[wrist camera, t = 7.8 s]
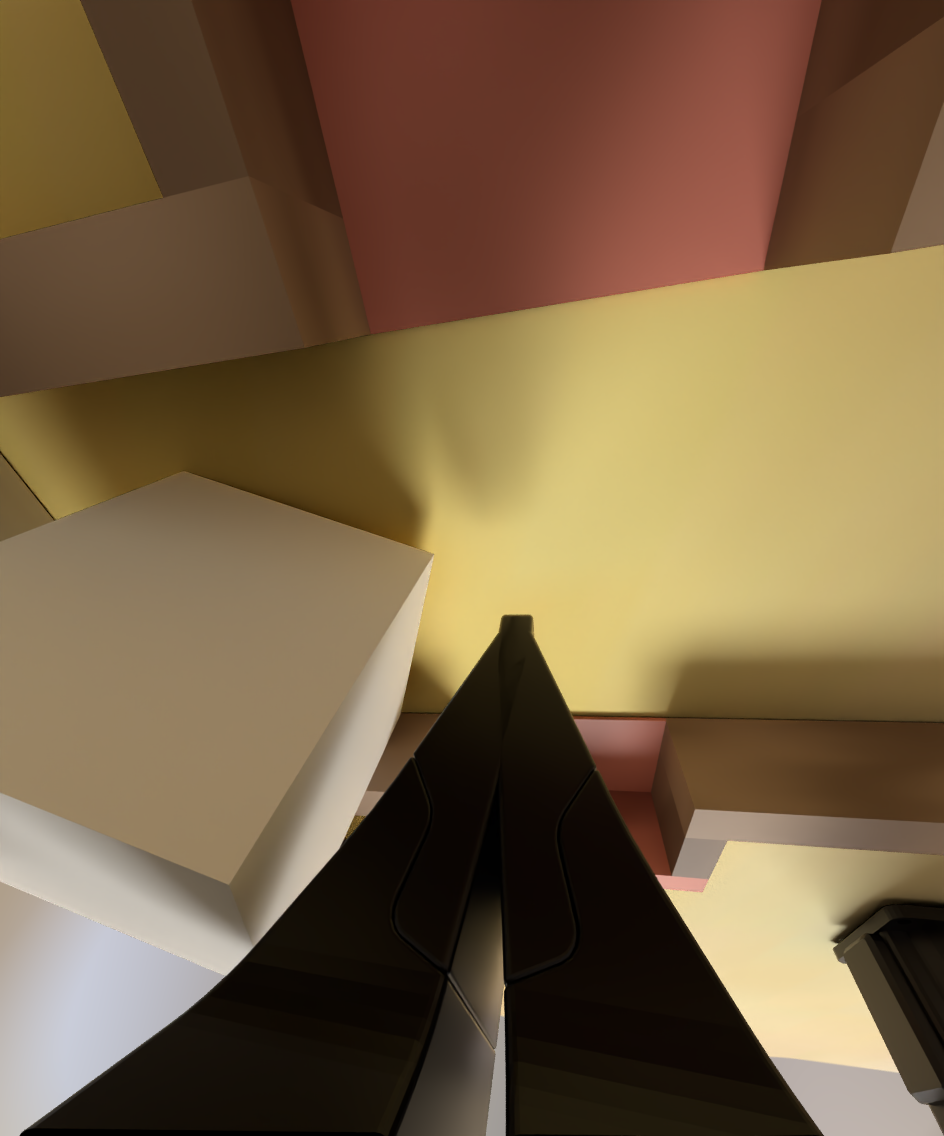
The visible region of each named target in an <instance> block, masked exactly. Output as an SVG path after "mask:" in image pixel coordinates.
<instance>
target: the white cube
mask: <svg viewBox="0 0 944 1136" xmlns="http://www.w3.org/2000/svg"><path fill="white" fill-rule="evenodd" d="M433 558H434V554H432V553H429V552H426V551H423V550H420V549H417V548H414V547H411V546H408V545H405V544H402V543H399V542H396V541H393V540H390V539H387V538H384V537H381V536H378V535H375V534H372V533H369V532H366V531H363V530H360V529H357V528H354V527H351V526H348V525H345V524H342V523H339V522H336V521H333V520H330V519H327V518H324V517H321V516H318V515H315V514H312V513H309V512H306V511H303V510H300V509H297V508H294V507H291V506H288V505H285V504H282V503H279V502H276V501H273V500H270V499H267V498H264V497H261V496H258V495H255V494H252V493H249V492H246V491H243V490H240V489H237V488H234V487H231V486H228V485H225V484H222V483H219V482H216V481H213V480H210V479H207V478H204V477H201V476H198V475H195V474H192V473H189V472H186V471H182V472H179V473H177V474H174V475H172V476H169V477H167V478H164V479H161V480H159V481H156V482H154V483H151V484H148V485H146V486H143V487H141V488H138V489H135V490H133V491H130V492H128V493H125V494H122V495H120V496H117V497H115V498H112V499H110V500H107V501H104V502H102V503H99V504H97V505H94V506H91V507H89V508H86V509H84V510H81V511H78V512H76V513H73V514H71V515H68V516H65V517H63V518H60V519H58V520H55V521H53V522H50V523H47V524H45V525H42V526H40V527H37V528H34V529H32V530H29V531H27V532H24V533H21V534H19V535H16V536H14V537H11V538H9V539H6V540H3V541H1V542H0V882H3V883H5V884H7V885H10V886H12V887H15V888H17V889H19V890H22V891H24V892H26V893H29V894H31V895H34V896H36V897H38V898H41V899H43V900H45V901H48V902H50V903H53V904H55V905H57V906H60V907H62V908H65V909H67V910H70V911H72V912H74V913H77V914H79V915H81V916H84V917H86V918H89V919H91V920H93V921H96V922H98V923H100V924H103V925H105V926H108V927H110V928H112V929H115V930H117V931H119V932H122V933H124V934H127V935H129V936H131V937H134V938H136V939H139V940H141V941H143V942H146V943H148V944H150V945H153V946H155V947H158V948H160V949H162V950H165V951H167V952H170V953H172V954H174V955H177V956H179V957H181V958H184V959H186V960H189V961H191V962H194V963H196V964H198V965H200V966H203V967H205V968H208V969H210V970H213V971H215V972H217V973H220V974H222V975H224V976H227V974H228V973H229V972H230V971H231V970H232V969H233V968H234V967H235V966H236V965H237V964H238V963H239V962H240V961H241V960H242V959H243V958H244V957H245V956H246V955H247V954H248V953H249V952H250V951H251V949H252V948H253V947H254V946H255V945H256V944H257V943H258V942H259V940H260V939H261V938H262V937H263V936H264V935H265V934H266V932H267V931H268V930H269V929H270V928H271V927H272V925H273V924H274V923H275V922H276V921H277V920H278V919H279V917H280V916H281V915H282V914H283V913H284V912H285V911H286V909H287V908H288V907H289V906H290V905H291V904H292V902H293V901H294V900H295V899H296V898H297V897H298V896H299V894H300V893H301V892H302V891H303V890H304V889H305V887H306V886H307V885H308V884H309V883H310V882H311V881H312V879H313V878H314V877H315V876H316V875H317V874H318V872H319V871H320V870H321V869H322V868H323V867H324V866H325V864H326V863H327V862H328V861H329V860H330V859H331V857H332V856H333V855H334V854H335V853H336V852H337V851H338V849H339V848H340V846H341V844H342V842H343V840H344V837H345V835H346V833H347V831H348V829H349V826H350V824H351V822H352V820H353V818H354V815H355V813H356V811H357V809H358V807H359V804H360V802H361V800H362V798H363V796H364V793H365V791H366V789H367V787H368V785H369V783H370V780H371V778H372V776H373V774H374V772H375V769H376V767H377V765H378V763H379V761H380V758H381V756H382V754H383V752H384V750H385V747H386V745H387V743H388V741H389V739H390V736H391V734H392V732H393V730H394V728H395V725H396V723H397V721H398V719H399V717H400V714H401V710H402V705H403V700H404V695H405V691H406V686H407V681H408V676H409V672H410V667H411V662H412V657H413V653H414V648H415V643H416V638H417V634H418V629H419V624H420V619H421V615H422V610H423V605H424V600H425V596H426V591H427V586H428V581H429V577H430V572H431V567H432V562H433Z"/></svg>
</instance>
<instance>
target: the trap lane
mask: <svg viewBox="0 0 944 1136" xmlns="http://www.w3.org/2000/svg"><path fill="white" fill-rule="evenodd" d="M80 1H81V3H82V6H83V8H84V10H85V13H86V15H87V18H88V20H89V22H90V25H91V27H92V29H93V32H94V34H95V37H96V39H97V41H98V44H99V46H100V48H101V51H102V53H103V56H104V58H105V60H106V63H107V65H108V67H109V70H110V72H111V74H112V77H113V79H114V82H115V84H116V86H117V89H118V91H119V93H120V96H121V98H122V101H123V103H124V105H125V108H126V110H127V112H128V115H129V117H130V120H131V122H132V124H133V127H134V129H135V131H136V134H137V136H138V139H139V141H140V143H141V146H142V148H143V150H144V153H145V155H146V157H147V160H148V162H149V165H150V167H151V169H152V172H153V174H154V176H155V179H156V181H157V184H158V186H159V188H160V191H161V193H162V195H163V198H160V199H156V200H152V201H148V202H144V203H141V204H137V205H133V206H129V207H125V208H121V209H117V210H113V211H109V212H105V213H101V214H97V215H93V216H89V217H85V218H81V219H77V220H74V221H70V222H66V223H62V224H58V225H54V226H50V227H46V228H42V229H38V230H34V231H30V232H26V233H22V234H18V235H14V236H10V237H6V238H3V239H0V397H4V396H10V395H16V394H22V393H28V392H34V391H41V390H47V389H53V388H59V387H65V386H72V385H78V384H84V383H90V382H96V381H102V380H109V379H115V378H121V377H127V376H133V375H140V374H146V373H152V372H158V371H164V370H170V369H177V368H183V367H189V366H195V365H201V364H208V363H214V362H220V361H226V360H232V359H238V358H245V357H251V356H257V355H263V354H269V353H276V352H282V351H288V350H294V349H300V348H306V347H311V346H316V345H321V344H326V343H331V342H336V341H341V340H346V339H351V338H355V337H360V336H365V335H370V334H376V333H382V332H388V331H395V330H401V329H407V328H413V327H419V326H425V325H431V324H438V323H444V322H450V321H456V320H462V319H468V318H474V317H480V316H487V315H493V314H499V313H505V312H511V311H517V310H523V309H530V308H536V307H542V306H548V305H554V304H560V303H566V302H572V301H579V300H585V299H591V298H597V297H603V296H609V295H615V294H622V293H628V292H634V291H640V290H646V289H652V288H658V287H664V286H671V285H677V284H683V283H689V282H695V281H701V280H707V279H714V278H720V277H726V276H732V275H738V274H744V273H750V272H756V271H763V270H770V269H777V268H784V267H792V266H799V265H807V264H814V263H821V262H829V261H836V260H843V259H851V258H858V257H865V256H873V255H880V254H887V253H894V252H900V251H906V250H913V249H919V248H925V247H931V246H937V245H943V244H944V0H80ZM53 521H54V520H53V519H52V517H51V516H50V515H49V514H48V512H47V511H46V510H45V509H44V507H43V506H42V505H41V504H40V503H39V501H38V500H37V499H36V498H35V496H34V495H33V494H32V493H31V491H30V490H29V489H28V488H27V486H26V485H25V484H24V483H23V481H22V480H21V479H20V478H19V476H18V475H17V474H16V473H15V471H14V470H13V469H12V468H11V466H10V465H9V464H8V463H7V461H6V460H5V459H4V458H3V456H2V455H1V454H0V542H1V541H3V540H6V539H9V538H11V537H14V536H16V535H19V534H21V533H24V532H27V531H29V530H32V529H34V528H37V527H40V526H42V525H45V524H47V523H50V522H53ZM440 715H441V714H419V713H401V714H400V717H399V719H398V721H397V723H396V725H395V728H394V730H393V732H392V734H391V736H390V739H389V741H388V743H387V745H386V747H385V750H384V752H383V754H382V756H381V758H380V761H379V763H378V765H377V767H376V769H375V772H374V774H373V776H372V778H371V780H370V783H369V785H368V787H367V789H366V791H365V793H364V796H363V798H362V800H361V802H360V804H359V807H358V809H357V811H356V813H355V815H357V816H367V815H368V814H369V812H370V811H371V810H372V809H373V807H374V806H375V805H376V803H377V802H378V801H379V799H380V798H381V797H382V795H383V794H384V793H385V791H386V790H387V789H388V787H389V786H390V785H391V783H392V782H393V781H394V779H395V778H396V776H397V775H398V774H399V772H400V771H401V769H402V768H403V766H404V765H405V764H406V762H407V761H408V759H409V758H410V757H413V758H414V756H413V753H414V751H415V750H416V749H417V747H418V746H419V744H420V743H421V741H422V740H423V739H424V737H425V736H426V734H427V733H428V732H429V730H430V729H431V727H432V726H433V725H434V723H435V722H436V720H437V719H438V717H439V716H440ZM573 719H574V721H575V723H576V725H577V727H578V729H579V731H580V733H581V735H582V737H583V739H584V741H585V743H586V745H587V747H588V749H589V752H590V754H591V756H592V758H593V760H594V762H595V764H596V767H597V768H596V770H598V771H599V772H600V774H601V776H602V778H603V780H604V782H605V784H606V786H607V788H608V790H609V792H610V794H611V796H612V798H613V800H614V802H615V804H616V806H617V808H618V810H619V811H620V813H621V815H622V817H623V819H624V821H625V823H626V825H627V827H628V829H629V831H630V832H631V834H632V836H633V838H634V840H635V841H636V843H637V845H638V847H639V848H640V850H641V852H642V853H643V855H644V857H645V858H646V860H647V862H648V863H649V865H650V867H651V869H652V870H653V872H654V874H655V875H656V877H657V879H658V880H659V882H660V884H661V886H662V887H663V889H671V890H682V891H693V892H703V890H704V888H705V886H706V884H707V882H708V880H709V878H710V876H711V874H712V871H713V869H714V867H715V865H716V863H717V861H718V859H719V857H720V855H721V853H722V851H723V849H724V847H725V845H726V843H727V841H741V842H756V843H770V844H785V845H800V846H815V847H829V848H844V849H859V850H874V851H888V852H903V853H918V854H933V855H944V723H918V722H862V721H807V720H752V719H696V718H641V717H586V716H573ZM414 759H415V758H414Z"/></svg>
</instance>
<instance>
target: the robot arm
mask: <svg viewBox="0 0 944 1136" xmlns="http://www.w3.org/2000/svg"><path fill="white" fill-rule="evenodd" d="M413 756H414V758H415V759H414V758H413V757H410V758H409V759H408V761H407V762H406V764H405V765H404V766H403V768H402V769H401V771H400V772H399V774H398V775H397V776H396V778H395V779H394V781H393V782H392V783H391V785H390V786H389V787H388V789H387V790H386V791H385V793H384V794H383V795H382V797H381V798H380V799H379V801H378V802H377V803H376V805H375V806H374V807H373V809H372V810H371V811H370V812H369V814H368V815H367V816H366V817H365V818H364V820H363V821H362V822H361V823H360V824H359V826H358V827H357V828H356V829H355V830H354V832H353V833H352V834H351V835H350V836H349V838H348V839H347V840H346V841H345V842H344V844H343V845H342V846H341V847H340V848H339V849H338V851H337V852H336V853H335V854H334V855H333V856H332V857H331V859H330V860H329V861H328V862H327V863H326V864H325V866H324V867H323V868H322V869H321V870H320V871H319V872H318V874H317V875H316V876H315V877H314V878H313V879H312V881H311V882H310V883H309V884H308V885H307V886H306V887H305V889H304V890H303V891H302V892H301V893H300V894H299V896H298V897H297V898H296V899H295V900H294V901H293V902H292V904H291V905H290V906H289V907H288V908H287V909H286V911H285V912H284V913H283V914H282V915H281V916H280V917H279V919H278V920H277V921H276V922H275V923H274V924H273V925H272V927H271V928H270V929H269V930H268V931H267V932H266V934H265V935H264V936H263V937H262V938H261V939H260V940H259V942H258V943H257V944H256V945H255V946H254V947H253V948H252V949H251V951H250V952H249V953H248V954H247V955H246V956H245V957H244V958H243V959H242V960H241V961H240V962H239V963H238V964H237V965H236V966H235V967H234V968H233V969H232V970H231V971H230V972H229V973H228V974H227V976H226V977H224V978H223V979H222V980H221V981H220V982H219V983H218V984H217V985H216V986H215V987H214V988H213V989H211V990H210V991H209V992H208V993H207V994H206V995H205V996H204V997H202V998H201V999H200V1000H199V1001H198V1002H196V1003H195V1004H194V1005H193V1006H192V1007H191V1008H189V1009H188V1010H187V1011H186V1012H185V1013H183V1014H182V1015H180V1016H179V1017H178V1018H177V1019H175V1020H174V1021H173V1022H172V1023H170V1024H169V1025H167V1026H166V1027H165V1028H163V1029H162V1030H161V1031H159V1032H158V1033H156V1034H155V1035H154V1036H152V1037H151V1038H150V1039H148V1040H147V1041H146V1042H144V1043H143V1044H141V1045H140V1046H139V1047H138V1048H136V1049H135V1050H134V1051H132V1052H131V1053H129V1054H128V1055H126V1056H125V1057H124V1058H122V1059H121V1060H120V1061H118V1062H117V1063H116V1064H114V1065H113V1066H111V1067H110V1068H109V1069H108V1070H106V1071H105V1072H103V1073H102V1074H101V1075H100V1076H98V1077H97V1078H95V1079H94V1080H92V1081H91V1082H90V1083H88V1084H87V1085H86V1086H84V1087H83V1088H82V1089H80V1090H79V1091H77V1092H76V1093H75V1094H73V1095H72V1096H71V1097H69V1098H68V1099H67V1100H65V1101H64V1102H63V1103H61V1104H60V1105H58V1106H57V1107H56V1108H54V1109H53V1110H52V1111H51V1112H49V1113H48V1114H46V1115H45V1116H43V1117H42V1118H41V1119H39V1120H38V1121H37V1122H35V1123H34V1124H33V1125H31V1126H30V1127H28V1128H27V1129H26V1130H24V1131H23V1132H22V1133H21V1134H20V1136H485V1135H486V1127H487V1119H488V1111H489V1103H490V1095H491V1087H492V1078H493V1070H494V1062H495V1051H494V1049H495V1048H496V1045H497V1036H498V1029H499V1020H500V1012H501V1004H502V996H503V988H504V984H505V987H506V988H505V991H504V1011H505V1060H506V1061H505V1062H506V1136H824V1135H823V1134H822V1132H821V1131H820V1130H819V1128H818V1127H817V1126H816V1124H815V1123H814V1121H813V1120H812V1119H811V1117H810V1116H809V1114H808V1113H807V1112H806V1110H805V1109H804V1107H803V1106H802V1104H801V1103H800V1102H799V1100H798V1099H797V1097H796V1096H795V1095H794V1093H793V1092H792V1090H791V1089H790V1087H789V1086H788V1084H787V1083H786V1081H785V1080H784V1079H783V1077H782V1075H781V1074H780V1072H779V1071H778V1070H777V1068H776V1066H775V1065H774V1064H773V1062H772V1061H771V1059H770V1058H769V1056H768V1054H767V1053H766V1051H765V1050H764V1048H763V1047H762V1045H761V1044H760V1042H759V1040H758V1039H757V1037H756V1036H755V1034H754V1033H753V1031H752V1030H751V1028H750V1027H749V1025H748V1023H747V1022H746V1020H745V1019H744V1017H743V1015H742V1014H741V1012H740V1011H739V1009H738V1007H737V1006H736V1004H735V1003H734V1001H733V999H732V998H731V996H730V995H729V993H728V991H727V990H726V988H725V987H724V985H723V983H722V982H721V980H720V978H719V977H718V975H717V974H716V972H715V970H714V969H713V967H712V966H711V964H710V962H709V961H708V959H707V958H706V956H705V954H704V953H703V951H702V950H701V948H700V946H699V945H698V943H697V942H696V940H695V938H694V937H693V935H692V934H691V932H690V930H689V929H688V927H687V926H686V924H685V922H684V921H683V919H682V918H681V916H680V914H679V913H678V911H677V910H676V908H675V906H674V905H673V903H672V902H671V900H670V898H669V897H668V895H667V894H666V892H665V890H664V889H663V887H662V886H661V884H660V882H659V880H658V879H657V877H656V875H655V874H654V872H653V870H652V869H651V867H650V865H649V863H648V862H647V860H646V858H645V857H644V855H643V853H642V852H641V850H640V848H639V847H638V845H637V843H636V841H635V840H634V838H633V836H632V834H631V832H630V831H629V829H628V827H627V825H626V823H625V821H624V819H623V817H622V815H621V813H620V811H619V810H618V808H617V806H616V804H615V802H614V800H613V798H612V796H611V794H610V792H609V790H608V788H607V786H606V784H605V782H604V780H603V778H602V776H601V774H600V772H599V771H598V770H596V768H597V767H596V764H595V762H594V760H593V758H592V756H591V754H590V752H589V749H588V747H587V745H586V743H585V741H584V739H583V737H582V735H581V733H580V731H579V729H578V727H577V725H576V723H575V721H574V719H573V716H572V714H571V712H570V710H569V708H568V706H567V704H566V702H565V700H564V698H563V696H562V694H561V692H560V690H559V688H558V686H557V684H556V681H555V679H554V677H553V675H552V673H551V671H550V669H549V667H548V665H547V663H546V661H545V659H544V657H543V655H542V653H541V651H540V649H539V646H538V644H537V642H536V640H535V638H534V625H533V617H532V616H531V615H503V616H502V618H501V623H500V628H499V633H498V634H497V636H496V637H495V638H494V640H493V641H492V643H491V644H490V645H489V647H488V648H487V650H486V651H485V653H484V654H483V655H482V657H481V658H480V660H479V661H478V662H477V664H476V665H475V667H474V668H473V669H472V671H471V672H470V674H469V675H468V677H467V678H466V679H465V681H464V682H463V684H462V685H461V686H460V688H459V689H458V691H457V692H456V693H455V695H454V696H453V698H452V699H451V701H450V702H449V703H448V705H447V706H446V708H445V709H444V710H443V712H442V713H441V715H440V716H439V717H438V719H437V720H436V722H435V723H434V725H433V726H432V727H431V729H430V730H429V732H428V733H427V734H426V736H425V737H424V739H423V740H422V741H421V743H420V744H419V746H418V747H417V749H416V750H415V751H414V753H413ZM833 951H834V953H835V955H836V957H837V959H838V961H839V962H841V963H845V964H847V965H848V967H849V969H850V971H851V973H852V975H853V977H854V980H855V982H856V984H857V986H858V988H859V990H860V992H861V994H862V996H863V998H864V1000H865V1002H866V1004H867V1007H868V1009H869V1011H870V1013H871V1015H872V1017H873V1019H874V1021H875V1023H876V1025H877V1027H878V1029H879V1032H880V1034H881V1036H882V1038H883V1040H884V1042H885V1044H886V1046H887V1048H888V1050H889V1052H890V1054H891V1056H892V1059H893V1061H894V1063H895V1065H896V1067H897V1069H898V1071H899V1073H900V1075H901V1077H902V1079H903V1081H904V1083H905V1085H906V1087H907V1090H908V1091H909V1093H910V1094H911V1095H912V1096H913V1097H914V1098H915V1099H916V1100H917V1101H918V1102H919V1103H921V1104H926V1105H929V1107H930V1108H931V1111H932V1113H933V1115H934V1116H935V1119H936V1121H937V1122H938V1125H939V1127H940V1129H941V1131H942V1133H943V1135H944V908H932V907H921V906H910V905H889V906H885V907H883V908H882V909H881V910H879V911H878V912H877V913H876V914H874V915H873V916H872V917H871V918H870V919H868V920H867V921H866V922H865V923H863V924H862V925H861V926H860V927H859V928H857V929H856V930H855V931H854V932H853V933H851V934H850V935H849V936H848V937H846V938H845V939H844V940H843V941H842V942H840V943H839V944H838V945H837V946H835V947H834V948H833Z"/></svg>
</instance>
